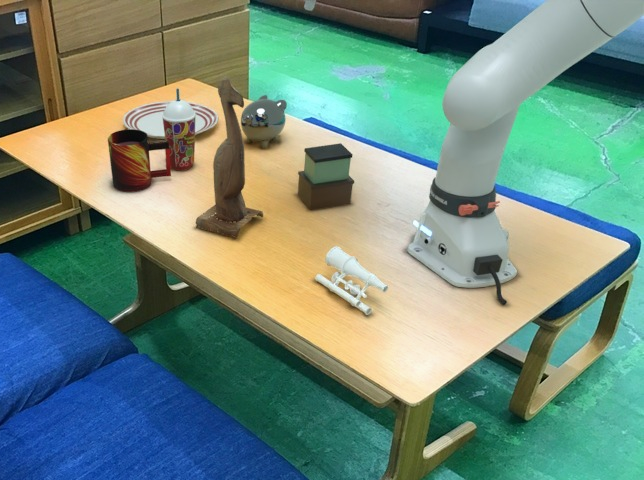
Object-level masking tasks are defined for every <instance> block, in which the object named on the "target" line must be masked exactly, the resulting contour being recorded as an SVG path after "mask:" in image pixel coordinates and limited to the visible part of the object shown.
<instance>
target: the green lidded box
mask: <svg viewBox="0 0 644 480" xmlns="http://www.w3.org/2000/svg"><path fill="white" fill-rule="evenodd" d="M303 151H304V153H305V154H304V167H303V171H304V174H305V175H306V176H307V177H308V178H309V179H310V181H311V182H312V183H313V184H317V183H324V182H331V181H338V180H344V179H348V177H349V176H350V169H351V160H352V158H353V153H351V151H349V149H348V148H346V146H345V145H344V144H342V143H341V142H340V143H334V144H325V145H319V146H312V147H304V149H303Z"/></svg>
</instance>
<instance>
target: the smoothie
mask: <svg viewBox="0 0 644 480" xmlns="http://www.w3.org/2000/svg"><path fill="white" fill-rule="evenodd" d="M175 90H176V91H175V92H176V99H173V100H171V102H170V103H169V104H168V105H167V106H166V108H165V110H164V113H163V114H162V118H163V125H164V133H165V139H164V140H165V141H169V154H170V164H171V170H174V171H179V172H180V171H187V170H189V169H191V168H192V167H193V164H194V163H195V153H196V152H195V151H196V149H195V147H196V145H195V144H196V135H195V116H196V113H195V112H194V110H193V108H192V106H191V105H190V104H189V103H188V102H189V101H186V100H184V99H180V88H176V89H175Z"/></svg>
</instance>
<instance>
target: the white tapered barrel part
mask: <svg viewBox="0 0 644 480" xmlns="http://www.w3.org/2000/svg"><path fill="white" fill-rule="evenodd" d="M324 262H325V264H326V265H327V266H328V267H332V268H334V269H336V270H338V271H335V272H333V274H332V276H331V279H330V280H329V279H328V278H326V277H325V276H323V274H321V273H317V274H316V276H315V278H314V281H315V282H318V283H320V284H321V285H323V287H326V288H327V289H328V290H329V291H330V292H331V293H335V295H338V296H339V297H341V298H342V299H344V300H345V301H346V302H348V303H349V304H350V305H351V306H352V307H355V308H357V309H358V310H360V311H361V312H362V313H363V314H365V315H366V316H368V315H371V314H372V311H373V308H372V307H371V306H369V305H367V304H365V303H363V302H362V301H361V300H360V299H361V298H362V297H363V298H364V299H366V298H367V297H368V295H367V294H366V293H365V292H366V291H367V289H368V288H369V287H370V286H371V287H374V288H376V289H378V290H380V291H381V292H383V293H386V292H387V291H388V290H389V285H387V284H385V283H384V282H382V281H381V279H379V278H378V277H377V275H376V274H375V273H372V272H370V270H368V269H367V268H364V267H363V265H361V263H359V262H358V259H357V257H356V256H353V255H352V256H351V255H350V254H349V253H347V252H345V251H344V250H342V248H341V247H340V246H337V245H336V246H334V247H333V246H332V247H331V248H330V249H329V250H328V251H327V253H326V254H325V259H324ZM345 276H346V277H347V276H351V277H353V278H356V279H358V280H359V281H361V282H363V283H365V284H364V285H363V287H362V288H361V286H360V285H359V284H356V283H354V281H353V280H351V279H350V280H347V281H346V280H345V279H344V278H345ZM340 283H341V284H343V285H344V287H343V289H342V288H341V287H339V285H340ZM347 291H350V292H349V293H348V292H347ZM355 295H357V296H356V297H354V296H355Z"/></svg>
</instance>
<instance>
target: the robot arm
mask: <svg viewBox="0 0 644 480" xmlns="http://www.w3.org/2000/svg"><path fill="white" fill-rule="evenodd" d="M316 3H317V0H305V2H304V6H303V9H304V10H306V11H310V12H313V10H314V9H315V7H316ZM642 17H644V0H546V1H544V2H543V3H542V4H540V5H539V6H537V7H536V8H535V9H534V10H533V11H531V12H530V13H529V14H527V15H526V16H525V17H524V18H523V19H521V20H520V21H519V22H517V24H515V25H514V26H513V27H512V28H510V29H509V30H507V31H506V32H505V33H504V34H503V35H501V36H500V37H499V38H498V39H496V40H495V41H494V42H492V43H490V44H487V45H486V46H484V47H483V48H481V49H479V50H478V51H477V52H476V53H475V54H474V55H473V56H472V57H470V59H468V60H467V61H466V62H465V63H464V64H463V65H462V66H461V67H460V68H459V69H458V70H457V71H456V72H455V73H454V74H453V75H452V76H451V78H450V79H449V81H448V83H447V85H446V88H445V91H444V93H443V97H442V111H443V114H444V117H445V119H446V120H447V121H448V123H449V126H448V129H447V132H446V134H445V136H444V138H443V141H442V145H441V150H440V152H439V153H440V154H439V159H438V164H437V169H436V174H435V176H434V177H433V179H432V182H431V184H430V188H429V195H428V199H429V201H428V203H427V205H426V207H425V209H424V211H423V212H422V214H421V215H420V218H419V222H418V221H417V220H413V225H414V227H416V232H415V234H414V238H413V241H412V242H411V243H410V244H409V245H408V246H407V249H406V252H407V253H408V254H409V255H411V256H412V257H414V258H415V259H416V260H417V261H419V262H420V263H421V264H423V265H425V266H426V267H427V268H429V269H430V270H431V271H433V272H434V273H435V274H436V275H438V276H439V277H441V278H442V279H444V280H445V281H446V282H448V283H449V284H450V285H452V286H454V287H458V288H467V289H468V288H470V289H473V288H486V287H492V286H495V288H496V297H497V300H498V301H499V303H501V304H502V305H507V304H508V303H507V300H506V299H504V297H503V295H502V284H504V283H507V282H509V281H511V280H513V279H514V278H515V277H516V276H517V274H518V270H517V268H516V267H515V266H514V264H513V263H512V261H511V260H510V259H509V250H510V245H509V241H508V240H509V238H510V234H509V231H508V230H507V229H503V227H502V225H501V222H500V220H499V218H498V215H497V214H496V213H497V212H496V208H497V207H500V205H499V204H500V203H501V201H500V200H498V201H497V192H496V190H497V187H496V181H497V177H498V174H499V171H500V167H501V163H502V159H503V156H504V152H505V149H506V146H507V144H508V141H509V138H510V135H511V132H512V130H513V127H514V124H515V121H516V118H517V115H518V112H519V109H520V106H521V104H522V103H524V102H525V101H527V100H528V99H529V98H530V97H532V96H533V95H535V94H536V93H537V92H538V91H540V90H541V89H542V88H544V87H546V85H548V84H549V83H550V82H552V81H553V80H555V79H556V78H557V77H558V76H560V75H561V74H562V73H563V72H565V71H566V70H568V69H569V68H570V67H572V66H573V65H575V64H577V63H578V62H580V61H581V60H583V59H584V58H585V57H587V56H588V55H591V53H593V52H594V51H596V50H597V49H599V48H600V47H602V46H604V45H606V43H608V42H609V41H611V40H613V39H614V38H615V37H617V36H618V35H620V34H621V33H623V32H624V31H626V30H627V29H628V28H630V27H631V26H632V25H634V24H635V23H637V22H638V21H639V20H640V19H641V18H642Z"/></svg>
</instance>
